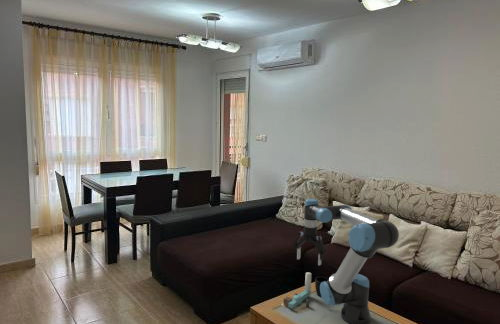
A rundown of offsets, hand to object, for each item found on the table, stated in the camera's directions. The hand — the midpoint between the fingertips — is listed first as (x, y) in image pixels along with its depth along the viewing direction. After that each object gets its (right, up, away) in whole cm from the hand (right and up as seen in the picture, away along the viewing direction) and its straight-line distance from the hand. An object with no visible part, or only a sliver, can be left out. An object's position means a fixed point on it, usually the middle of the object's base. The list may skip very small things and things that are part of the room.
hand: (308, 261), depth 209 cm
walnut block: (-13, -22, -8) cm, 27 cm away
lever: (-6, -21, -5) cm, 22 cm away
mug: (+11, -22, +7) cm, 26 cm away
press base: (-8, -23, -8) cm, 26 cm away
